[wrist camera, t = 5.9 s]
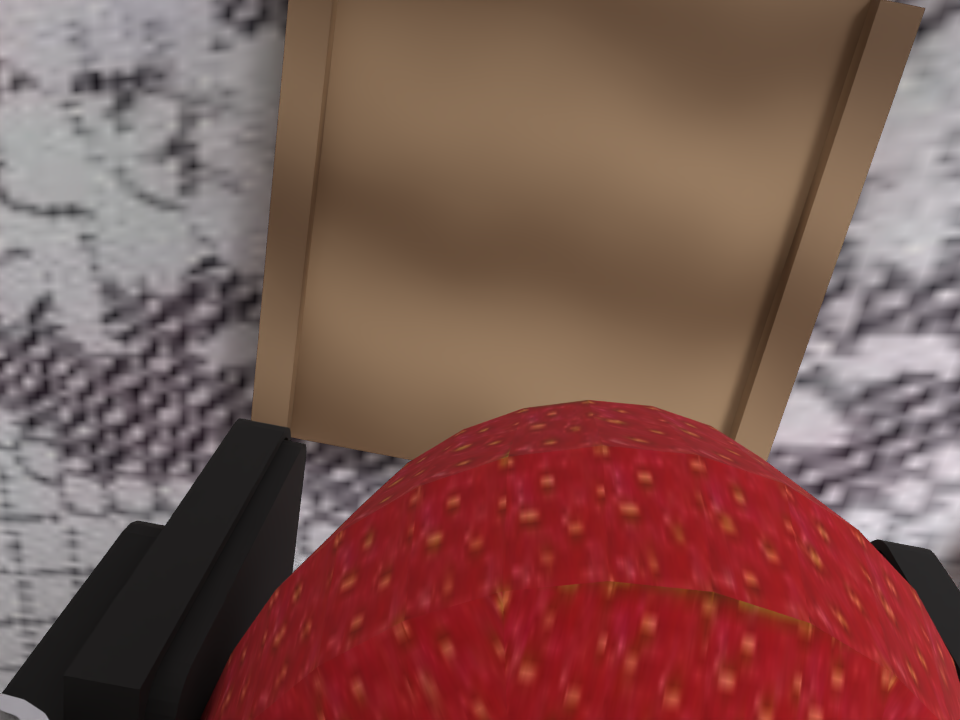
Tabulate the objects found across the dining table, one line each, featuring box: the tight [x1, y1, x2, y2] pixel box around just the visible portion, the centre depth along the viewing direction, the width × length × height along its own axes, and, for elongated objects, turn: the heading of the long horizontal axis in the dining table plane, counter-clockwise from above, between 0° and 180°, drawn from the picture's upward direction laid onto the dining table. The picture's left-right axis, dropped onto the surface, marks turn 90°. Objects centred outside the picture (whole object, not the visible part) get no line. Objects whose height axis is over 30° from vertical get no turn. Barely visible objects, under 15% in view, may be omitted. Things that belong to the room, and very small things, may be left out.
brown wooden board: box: [251, 0, 925, 461], centre depth 24 cm, size 14×14×3 cm
